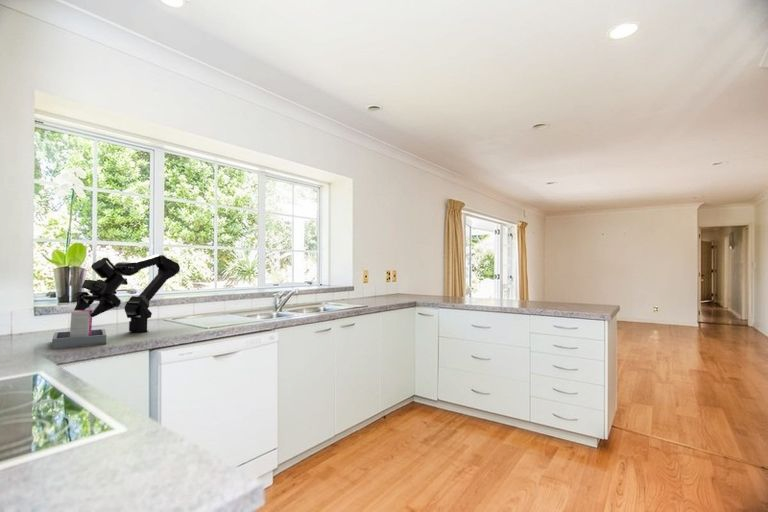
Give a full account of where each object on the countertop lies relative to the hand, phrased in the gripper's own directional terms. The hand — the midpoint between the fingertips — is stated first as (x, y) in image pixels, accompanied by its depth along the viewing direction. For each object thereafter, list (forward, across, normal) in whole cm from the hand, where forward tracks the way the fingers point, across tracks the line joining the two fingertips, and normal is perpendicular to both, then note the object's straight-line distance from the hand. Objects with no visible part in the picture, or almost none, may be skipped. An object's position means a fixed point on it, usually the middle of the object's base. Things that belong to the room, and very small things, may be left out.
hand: (82, 315), depth 154 cm
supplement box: (+7, 0, +6) cm, 10 cm away
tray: (+8, 0, +7) cm, 10 cm away
